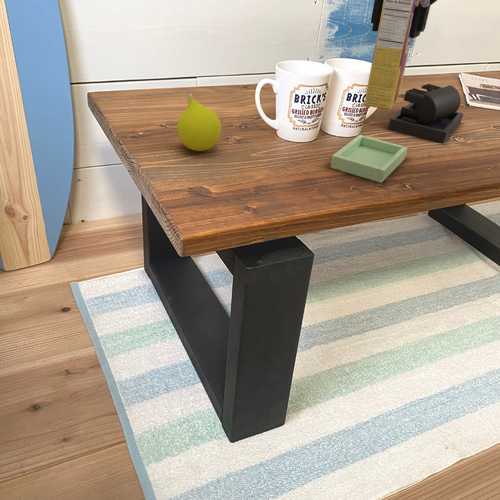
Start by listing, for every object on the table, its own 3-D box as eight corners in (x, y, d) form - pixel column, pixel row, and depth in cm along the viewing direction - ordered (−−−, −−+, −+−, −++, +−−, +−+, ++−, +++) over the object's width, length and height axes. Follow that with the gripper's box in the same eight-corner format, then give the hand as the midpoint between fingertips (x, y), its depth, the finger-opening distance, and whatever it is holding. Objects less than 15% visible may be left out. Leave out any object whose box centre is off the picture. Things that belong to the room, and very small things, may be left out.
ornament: (177, 140, 87) (176, 81, 81) (219, 141, 87) (221, 82, 82) (177, 158, 81) (175, 95, 75) (221, 158, 82) (223, 96, 76)
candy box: (372, 89, 82) (395, -17, 74) (399, 94, 81) (425, -13, 72) (361, 105, 75) (384, -10, 67) (390, 111, 74) (418, -6, 65)
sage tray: (404, 158, 86) (407, 147, 85) (381, 183, 78) (384, 170, 77) (357, 145, 90) (359, 134, 89) (330, 167, 81) (332, 155, 80)
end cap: (429, 134, 95) (439, 98, 91) (397, 122, 99) (405, 88, 95) (454, 123, 101) (465, 89, 98) (423, 113, 105) (431, 79, 102)
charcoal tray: (460, 123, 103) (463, 113, 102) (443, 143, 94) (446, 132, 92) (409, 111, 108) (411, 101, 106) (387, 129, 98) (390, 118, 97)
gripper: (506, -120, 62) (462, 39, 72) (374, -126, 69) (350, 20, 79) (495, -125, 56) (449, 48, 67) (352, -131, 63) (330, 27, 73)
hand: (396, 31), depth 73 cm, fingers closed on candy box, 4 cm apart
